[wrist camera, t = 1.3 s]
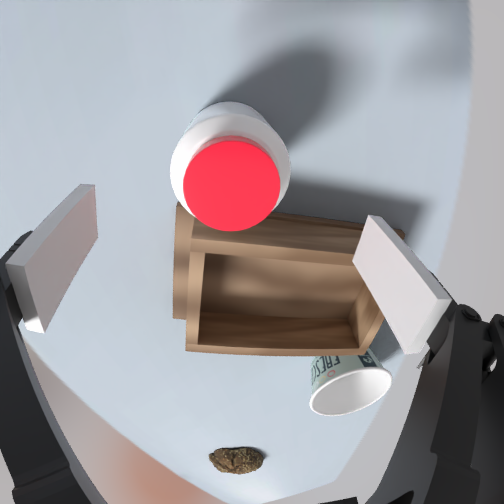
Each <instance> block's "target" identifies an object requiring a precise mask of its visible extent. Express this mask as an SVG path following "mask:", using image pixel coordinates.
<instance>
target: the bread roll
mask: <svg viewBox="0 0 504 504" xmlns="http://www.w3.org/2000/svg"><path fill="white" fill-rule="evenodd" d="M209 460H210V461H211V462H212V463H213V465H214V467H216V468H217V470H219V471H221V472H227V473H233V474H245V473H249V472H252V471H256V470H257V469H258V468H260V467H261V465H262V463H263V457H262V455H260V453H259V452H256V451H254V450H252V449H251V448H239V449H234V450H232V449H227V448H220V449H217V450H215V451H214V453H211V454H209Z"/></svg>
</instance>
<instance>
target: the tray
mask: <svg viewBox="0 0 504 504" xmlns="http://www.w3.org/2000/svg"><path fill="white" fill-rule="evenodd" d="M364 226H365V224H359V223H353V222H346V221H339V220H331V219H324V218H317V217H309V216H301V215H294V214H286V213H277V212H271V213H270V214H269V215H268V216H267V217H266V218H265V219H264V220H262V221H261V222H260V223H258V224H257V225H255V226H252V227H250V228H248V229H244V230H240V231H222V230H218V229H214V228H212V227H209V226H207V225H205V224H204V223H202V222H201V221H199V220H198V219H197V218H196V217H194V216H193V215H192V214H190V213H189V212H188V211H187V210H186V209H185V208H184V207H183V206H182V205H181V203H180V202H178V203H177V206H176V222H175V242H174V271H173V319H184V320H186V351H191V352H203V353H218V354H235V355H260V356H347V355H364V354H365V353H366V351H367V349H368V348H369V346H370V344H371V342H372V341H373V339H374V337H375V335H376V333H377V332H378V330H379V328H380V326H381V324H382V323H383V321H384V319H385V317H384V315H383V313H382V311H381V309H380V308H379V306H378V304H377V302H376V301H375V299H374V297H373V295H372V294H371V292H370V290H369V289H368V287H367V285H366V283H365V282H364V280H363V278H362V277H361V275H360V273H359V272H358V270H357V268H356V267H355V265H354V263H353V262H352V260H353V258H354V255H355V252H356V249H357V246H358V244H359V241H360V238H361V235H362V232H363V229H364ZM393 230H394V231H395V232H396V234H397V235H398V236H399V237H400V238H401V239H402V240H403V239H404V237H405V233H404V232H403V231H402V230H398V229H393Z"/></svg>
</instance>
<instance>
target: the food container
mask: <svg viewBox="0 0 504 504" xmlns="http://www.w3.org/2000/svg"><path fill="white" fill-rule="evenodd" d="M311 383H312V396H311V399H310V407H311V409H312V410H313V411H314V412H316V413H317V414H320V415H325V416H339V415H345V414H349V413H353V412H356V411H358V410H361V409H363V408H365V407H367V406H369V405H371V404H373V403H374V402H376V401H377V400H379V399H380V398H381V397H382V396H383V395H384V394H385V393H386V392H387V391H388V389H389V388H390V386H391V384H392V375H391V373H390V372H389V371H388V370H386V369H384V368H383V366H382V365H381V363H380V362H379V361H378V359H377V358H376V356H375V355H374V354H373V352H372V351H371V349H370V348H368V349H367V351H366V353H365V354H364V355H347V356H315V357H314V358H313V360H312V362H311Z"/></svg>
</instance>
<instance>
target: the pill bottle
mask: <svg viewBox="0 0 504 504" xmlns="http://www.w3.org/2000/svg"><path fill="white" fill-rule="evenodd" d="M290 176H291V163H290V158H289V154H288V151H287V149H286V147H285V144H284V142H283V141H282V139H281V138H280V137H279V135H278V134H277V133H276V131H275V130H274V129H273V128H272V127H271V125H270V124H269V123H268V122H267V121H266V119H265V118H264V117H263V116H262V115H261V114H260V113H259V112H258V111H256V110H255V109H254V108H252V107H250V106H248V105H246V104H242V103H239V102H231V101H228V102H220V103H216V104H213V105H210V106H208V107H207V108H205V109H203V110H202V111H201V112H199V113H198V114H197V115H196V116H195V117H194V119H193V120H192V121H191V122H190V124H189V126H188V127H187V129H186V130H185V132H184V134H183V135H182V137H181V138H180V140H179V142H178V144H177V146H176V148H175V150H174V152H173V156H172V160H171V165H170V177H171V183H172V187H173V189H174V192H175V195H176V197H177V198H178V200H179V201H180V203H181V205H182V206H183V207H184V208H185V209H186V210H187V211H188V212H189V213H190V214H192V215H193V216H194V217H196V218H197V219H198V220H199V221H201V222H202V223H204V224H205V225H207V226H209V227H212V228H214V229H218V230H222V231H240V230H244V229H248V228H250V227H252V226H255V225H257V224H258V223H260V222H261V221H262V220H264V219H265V218H266V217H267V216H268V215H269V214H270V213H271V212H272V211H273V210H274V209H275V208H276V207H277V206H278V204H279V203H280V201H281V200H282V198H283V197H284V195H285V193H286V191H287V188H288V186H289V181H290Z"/></svg>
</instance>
